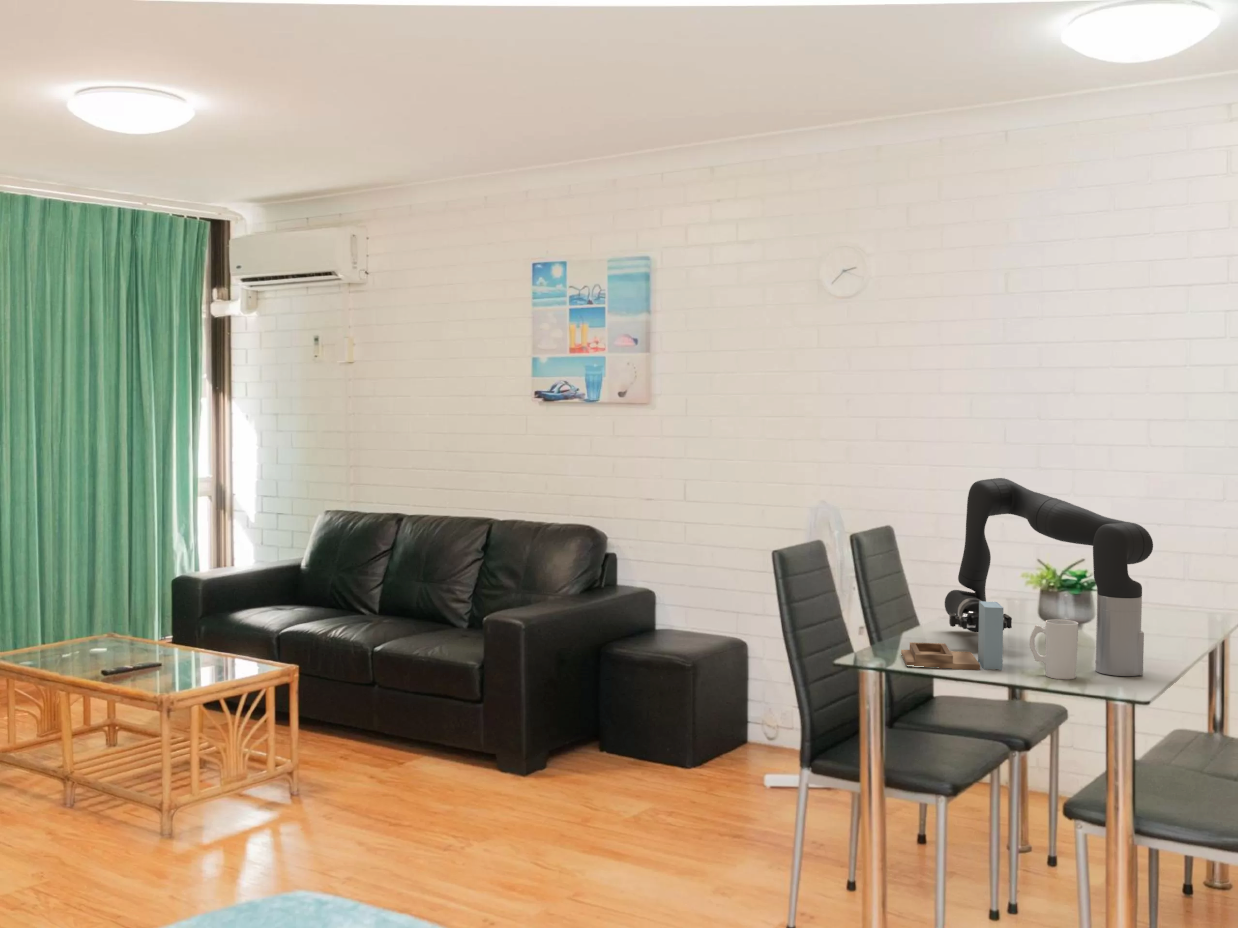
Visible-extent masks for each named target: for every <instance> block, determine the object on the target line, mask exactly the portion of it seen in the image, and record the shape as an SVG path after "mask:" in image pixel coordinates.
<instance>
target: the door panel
mask: <svg viewBox="0 0 1238 928" xmlns="http://www.w3.org/2000/svg"><path fill="white" fill-rule="evenodd" d="M1003 614H1004V607H1003V606H1002V605H1001V604H1000V603H999V602H998V601H986V602H985V601H979V632H978V639H977V640H978V648H977V649H978V650H977V661H978V662H979V664H980V667H981V668H982V669H983V670H988V669H999V670H998V671H1003V661H1004V660H1003V658H1004V657H1003V654H1004V653H1003V648H1004V643H1003V642H1004V630H1003Z"/></svg>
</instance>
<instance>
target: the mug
mask: <svg viewBox="0 0 1238 928" xmlns="http://www.w3.org/2000/svg"><path fill="white" fill-rule="evenodd" d="M1040 633H1043V634H1044V635H1045V654H1044V655H1041V654H1040V653H1039V652H1038V650H1037V648H1036V641H1035V640H1036V637H1037V636H1038V634H1040ZM1078 638H1079V622H1077V621H1075V620H1069V619H1047V620H1045V626H1044V627H1043V626H1042V625H1040V624H1039V625H1038V624H1035V625H1034V628H1033V629H1032V631H1031V634H1030V636H1029V647H1030V651H1031V653H1032V657H1033V659H1034V661H1035V662H1041V663H1043V664H1044V665H1045V676H1046V677H1048V678H1050V679H1056V680H1074V679H1076V677H1077V665H1078V644H1079V643H1078V642H1079V639H1078Z"/></svg>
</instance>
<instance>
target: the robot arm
mask: <svg viewBox="0 0 1238 928" xmlns="http://www.w3.org/2000/svg"><path fill="white" fill-rule="evenodd" d="M966 502H967V504H966V518H965V540H964V548H963V554H962V559H961V563H960V567H959V572H958V577H957V580H958V582H959V584H960V585H961V586H963V587H964V588H966V589H969V590H970V591H967V590H960V589H953V590H951V591H948V593H947V595H946V596H945V598H944V609H945V612H946V613H947V614H948V618H949V619H948V621H949V622H948V623H949V626H950V627H954V628H955V627H956V625H957V627H958V628H962V629H963V630H968V632H972V633H979V601H985V602H987V596H986V585H987V578H988V574H989V570H990V567H991V551H990V547H989V544H988V542H987V539H986V534H985V530H986V525H987V522H988V518H989V517H991V516H992V517H995V516H1000V515H1014V516H1016V517H1021V518H1023V519H1026V520H1027V523H1028V524H1029V525H1030V527H1031V528H1032V529H1033V530H1034V531H1035V532H1037V533H1038V534H1040V535H1043V536H1045V537H1047V538H1051V539H1053V540H1056V541H1060V542H1064V543H1070V544H1077V545H1084V546H1091V547H1092V558H1093V559H1092V562H1093V563H1092V564H1093V579H1094V583H1095V586H1096V595H1097V596H1096V629H1095V630H1096V632H1095V633H1096V635H1095V637H1096V638H1095V639H1096V640H1095V671H1096V672H1097V673H1100V674H1104V675H1107V676H1115V677H1117V676H1118V677H1135V676H1143V675H1144V647H1145V645H1144V644H1145V643H1144V641H1145V632H1143V630H1142V616H1143V615H1142V608H1143V607H1142V606H1143V605H1142V604H1143V586H1142V584H1141V583H1140V582H1138V581H1136V580H1135V579H1133V578H1131V577H1130V575H1129V569H1128V565H1135V564H1139V563H1142V562H1143V561H1146V560H1147V559H1148V558H1149V557H1150V555H1151V554H1152V552H1153V548H1154V542H1153V538H1152V537H1151V534H1150V532H1148V530H1147V529H1146V528H1145V527H1143V526H1142V525H1140V524H1138V523H1135V522H1131V521H1126V520H1125V521H1124V520H1120V519H1115V518H1111V517H1108V516H1103V515H1101V514H1099V513H1096V512H1094V511H1091V510H1089V509H1086V508H1084V507H1081V506H1079V505H1076V504H1073V503H1070V502H1068V501H1065V500H1062V499H1060V498H1056V497H1053V496H1049V495H1046V494H1044V493H1041V492H1037V491H1033V490H1031V489H1028V488H1027V487H1025V486H1023V485H1020V484H1018V483H1016V482H1015V481H1012V480H1010V479H1008V478H1005V477H996V478H988V479H981V480H977V481H975V482H974V483H972V484H971V486H970V488H969V490H968V494H967V501H966ZM972 591H973V592H972ZM1012 620H1013V618H1012V616H1010V615H1008V614H1007V613H1003V631H1005V629H1012Z"/></svg>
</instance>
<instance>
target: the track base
mask: <svg viewBox="0 0 1238 928" xmlns="http://www.w3.org/2000/svg"><path fill="white" fill-rule="evenodd" d="M900 650H901V651H900V653H901V654H902V655H901V654H900V655H901V657H902V656H903V657H902V660H903V659H904V660H903V662H904V661H905V662H904V664H905V663H906V664H905V666H906V665H914V666H924V667H939V668H938V669H942V668H952V669H951V670H975V671H979V670H981V665H980V663H979V662H978V659H976V657H975V656H974V654H973V653H972V652H971V651H959V650H958V651H953V650H950V648H949V647H948V646H947V644H946V643H944V642H943V643H942V642H941V643H940V642H939V643H937V642H912V641H911V642H909V649H900Z"/></svg>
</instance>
